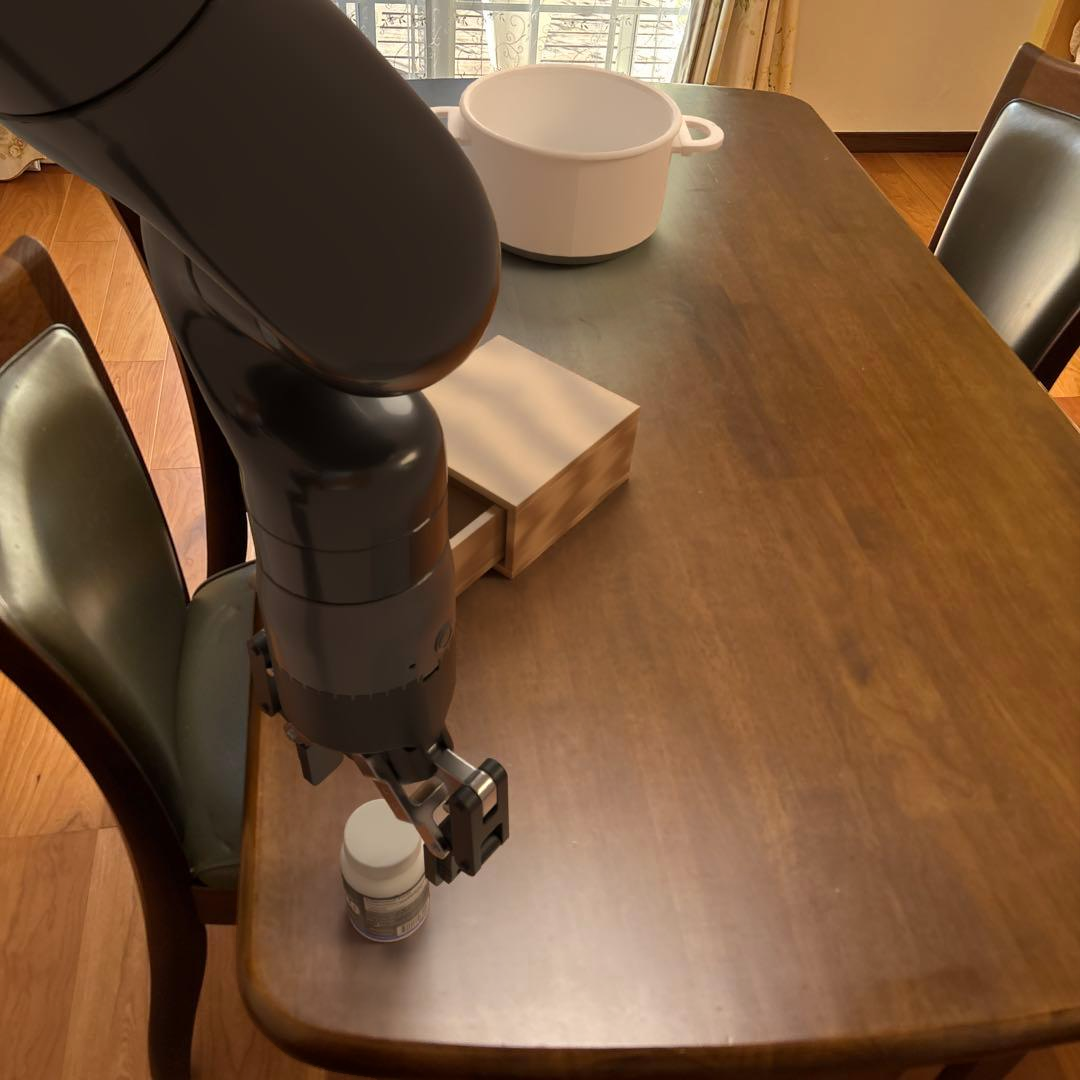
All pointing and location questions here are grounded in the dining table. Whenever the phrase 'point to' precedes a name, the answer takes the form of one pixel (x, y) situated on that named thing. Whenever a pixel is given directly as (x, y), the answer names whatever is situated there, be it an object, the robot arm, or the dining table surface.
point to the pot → (573, 157)
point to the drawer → (467, 534)
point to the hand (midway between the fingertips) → (383, 819)
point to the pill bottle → (383, 873)
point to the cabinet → (533, 442)
